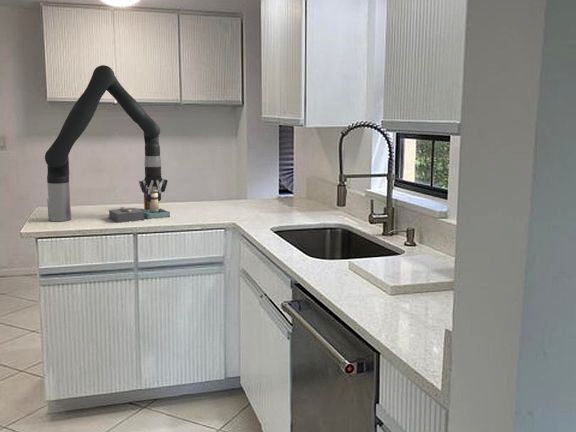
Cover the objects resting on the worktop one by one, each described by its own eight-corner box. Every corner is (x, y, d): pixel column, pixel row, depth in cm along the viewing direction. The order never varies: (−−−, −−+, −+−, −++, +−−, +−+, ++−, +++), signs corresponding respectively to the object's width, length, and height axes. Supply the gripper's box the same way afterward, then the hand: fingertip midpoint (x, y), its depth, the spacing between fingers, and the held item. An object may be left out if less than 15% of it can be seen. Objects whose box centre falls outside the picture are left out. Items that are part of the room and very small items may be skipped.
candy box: (159, 211, 296) (159, 180, 293) (151, 212, 293) (151, 181, 290) (151, 208, 302) (150, 179, 300) (143, 209, 300) (142, 179, 297)
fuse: (151, 213, 279) (150, 190, 277) (148, 212, 282) (147, 189, 280) (160, 212, 281) (159, 189, 279) (156, 211, 284) (156, 188, 282)
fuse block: (117, 222, 265) (117, 211, 264) (109, 218, 275) (109, 207, 274) (143, 220, 272) (143, 209, 271) (134, 216, 282) (134, 205, 281)
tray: (147, 219, 274) (147, 213, 274) (139, 215, 283) (138, 210, 283) (169, 217, 281) (169, 211, 280) (160, 213, 289) (160, 208, 289)
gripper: (141, 166, 271) (142, 203, 274) (170, 165, 279) (171, 201, 282) (135, 165, 277) (136, 201, 280) (164, 164, 285) (164, 199, 288)
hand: (153, 201), depth 281 cm, fingers closed on fuse, 4 cm apart
